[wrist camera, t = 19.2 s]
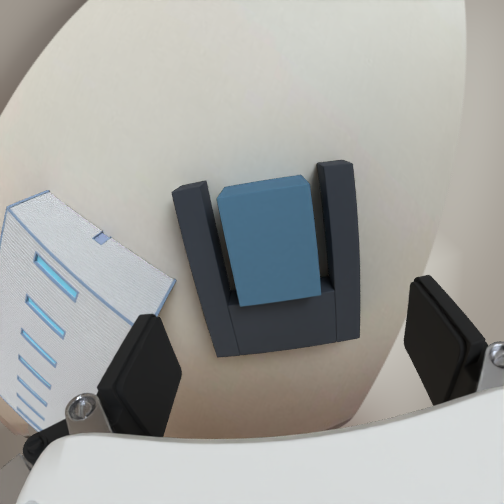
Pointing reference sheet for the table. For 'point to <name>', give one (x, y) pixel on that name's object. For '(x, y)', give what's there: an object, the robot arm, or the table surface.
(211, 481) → the robot arm
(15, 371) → the warehouse
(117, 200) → the table surface
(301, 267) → the blue rectangular block
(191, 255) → the dark grey u-frame
